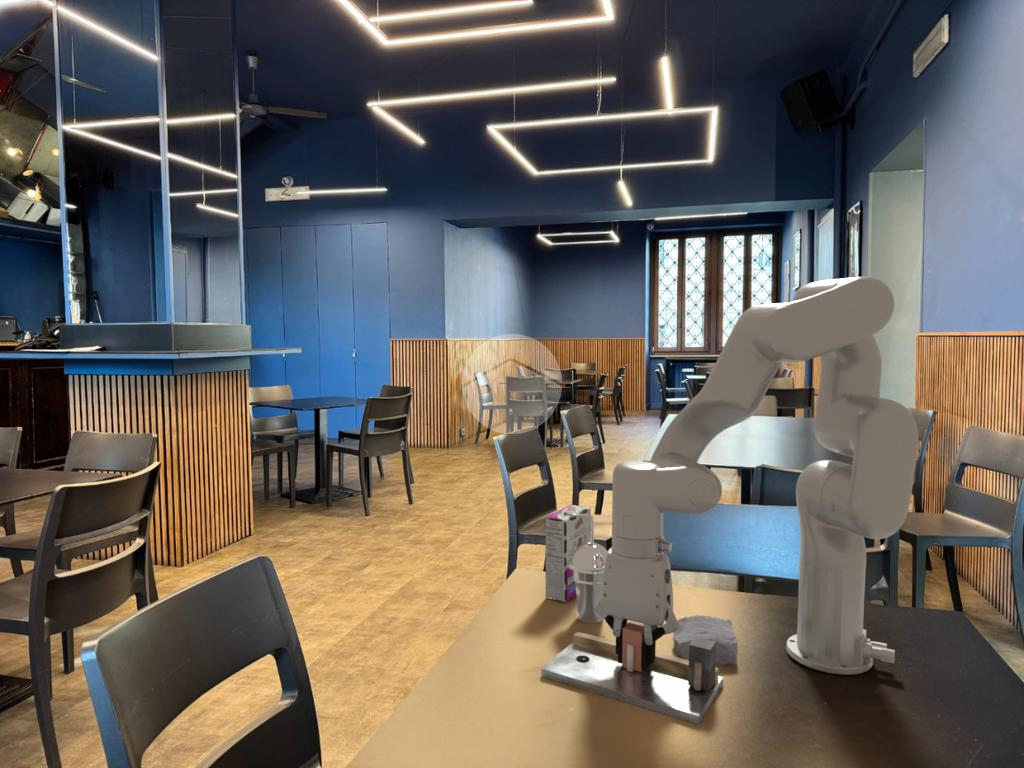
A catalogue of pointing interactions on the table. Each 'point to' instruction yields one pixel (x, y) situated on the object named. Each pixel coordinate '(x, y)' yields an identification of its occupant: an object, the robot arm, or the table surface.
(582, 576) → the domed lid cup
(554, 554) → the candy bar box
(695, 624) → the stone block
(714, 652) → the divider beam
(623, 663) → the block
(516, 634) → the table surface
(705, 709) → the bolt plate
